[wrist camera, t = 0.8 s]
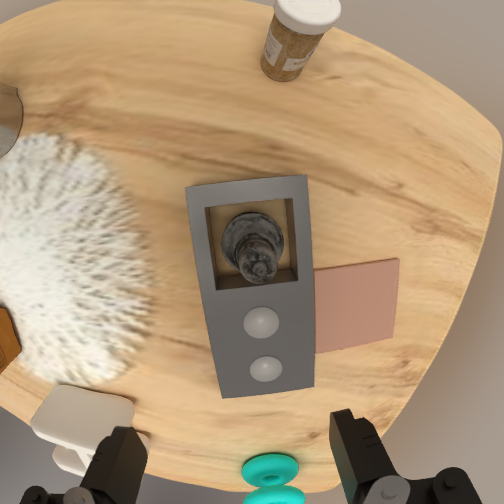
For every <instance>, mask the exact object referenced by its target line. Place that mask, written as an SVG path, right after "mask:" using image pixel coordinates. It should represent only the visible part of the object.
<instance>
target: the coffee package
mask: <svg viewBox="0 0 504 504" xmlns="http://www.w3.org/2000/svg"><path fill="white" fill-rule="evenodd" d="M20 352H21V347H20V345H19V343H18V341H17V338H16V337H15V334H14V331H13V327H12V323H11V320H10V318H9V316H8V314H7V312H6V310H5V309H4V308H0V374H1V373H2V372H3V371H4V370H5V368H6V367H7V366H8V365H9V364H10V363H11V362H12V361H13V360H14V359H15V358H16V357H17V356H18V354H20Z"/></svg>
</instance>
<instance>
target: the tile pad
mask: <svg viewBox="0 0 504 504" xmlns="http://www.w3.org/2000/svg"><path fill="white" fill-rule="evenodd" d="M399 261H400V259H398V258H395V259H388V260H381V261H374V262H367V263H360V264H353V265H346V266H339V267H332V268H324V269H317V270H313V283H314V326H315V353H316V354H319V353H324V352H329V351H335V350H340V349H345V348H349V347H354V346H359V345H363V344H368V343H372V342H376V341H380V340H384V339H388V338H392V337H393V330H394V322H395V314H396V304H397V293H398V280H399Z"/></svg>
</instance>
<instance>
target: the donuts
mask: <svg viewBox="0 0 504 504" xmlns="http://www.w3.org/2000/svg"><path fill="white" fill-rule="evenodd" d="M298 469H299V467H298V464H297V462H296V461H295V460H294V459H293V458H291V457H289V456H286V455H281V454H267V455H262V456H258V457H255V458H253V459H251V460H250V461H248V462H247V463H246V464H245V465H244V466H243V468H242V477H243V479H244V480H245V481H246V482H247V483H249V484H251V485H253V486H256V487H261V488H259V489H257V490H254V491H252V492H251V493H249V494H248V495H247V496H246V497H245V499H244V502H243V504H304V502H305V495H304V493H303V492H302V491H301V490H300V489H298V488H296V487H292V486H287V485H284V484H286V483H288V482H290V481H291V480H293V479H294V478H295V476H296V475H297V473H298Z"/></svg>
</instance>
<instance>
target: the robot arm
mask: <svg viewBox="0 0 504 504" xmlns="http://www.w3.org/2000/svg"><path fill="white" fill-rule="evenodd" d="M22 115H23V110H22V104H21V101H20V99H19V98H18V96H17V89H16V88H13V87H10V86H7V85H4V84H0V157H2V156H4V155H5V154H6V153H7V152H8V151H9V150H10V149H11V147H12V146H13V145H14V143H15V141H16V139H17V136H18V134H19V131H20V127H21V123H22ZM329 440H330V446H331V450H332V453H333V456H334V459H335V462H336V466H337V469H338V472H339V475H340V479H341V482H342V485H343V488H344V492H345V495H346V498H347V502H348V504H482V502H481V500H480V498H479V496H478V494H477V492H476V490H475V489H474V487H473V485H472V483H471V481H470V479H469V477H468V475H467V474H466V472H465V471H464V470H462V469H460V468H457V467H450V468H446V469H444V470H442V471H440V472H439V473H438V474H437V475H436V477H433V478H427V479H420V480H409V479H405V478H403V477H401V476H400V475H399V474H398V473H397V472H396V471H395V469H394V467H393V465H392V462H391V461H390V458H389V456H388V454H387V452H386V450H385V448H384V446H383V444H382V443H381V440H380V438H379V436H378V434H377V431H376V429H375V427H374V425H373V424H372V423H371V422H369V421H368V420H367V419H365V418H364V417H363V418H359V419H354V417H353V415H352V412H351V410H350V409H344V410H340V411H336V412H331V413H330V428H329ZM147 459H148V454H147V450H146V447H145V446H144V444H143V442H142V441H141V439H140V437H139V436H138V434H137V432H136V430H135V429H134V428H133V427H125V426H115V427H114V429H113V431H112V433H111V436H106V437H105V438H104V439H103V440H102V441H101V442H100V443H99V444H98V447H97V449H96V451H95V454H94V455H93V457H92V461H91V462H90V464H89V466H88V469H87V471H86V473H85V475H84V478H83V480H82V482H81V484H80V486H79V487H74V488H71V489H69V490H68V491H67V492H66V493H65V494H49V493H48V492H47V491H46V490H45V489H44V488H42V487H40V486H32V487H30V488H28V489H27V490H26V491H25V493H24V495H23V497H22V499H21V502H20V504H135V503H136V499H137V495H138V492H139V488H140V484H141V481H142V477H143V474H144V470H145V467H146V463H147Z"/></svg>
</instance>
